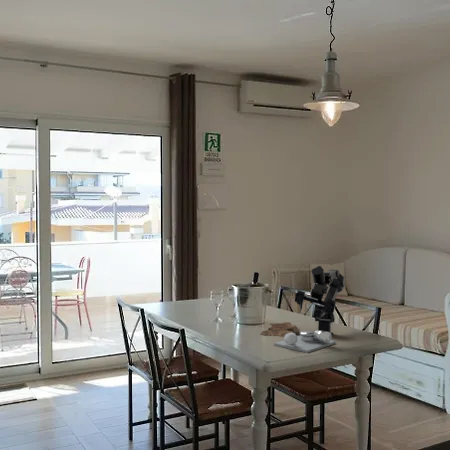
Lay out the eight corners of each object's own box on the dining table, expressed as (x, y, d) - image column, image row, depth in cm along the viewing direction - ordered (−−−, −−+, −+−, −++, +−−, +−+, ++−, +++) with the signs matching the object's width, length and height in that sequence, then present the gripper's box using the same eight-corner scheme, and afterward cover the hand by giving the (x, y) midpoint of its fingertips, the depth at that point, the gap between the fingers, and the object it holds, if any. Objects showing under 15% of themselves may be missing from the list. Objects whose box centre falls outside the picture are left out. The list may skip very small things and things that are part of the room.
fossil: (283, 339, 263) (283, 329, 263) (254, 334, 272) (255, 325, 272) (302, 331, 279) (303, 322, 279) (275, 327, 288) (275, 318, 288)
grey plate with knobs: (303, 336, 267) (303, 323, 267) (335, 343, 255) (335, 329, 255) (273, 345, 250) (274, 330, 250) (307, 352, 238) (307, 337, 238)
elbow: (296, 339, 256) (296, 328, 256) (306, 336, 262) (306, 325, 262) (323, 344, 246) (323, 333, 246) (333, 341, 252) (333, 330, 252)
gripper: (301, 273, 261) (292, 295, 249) (340, 284, 255) (333, 307, 244) (299, 290, 268) (289, 312, 256) (337, 301, 262) (329, 324, 251)
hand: (310, 313), depth 252 cm, fingers open, 9 cm apart
